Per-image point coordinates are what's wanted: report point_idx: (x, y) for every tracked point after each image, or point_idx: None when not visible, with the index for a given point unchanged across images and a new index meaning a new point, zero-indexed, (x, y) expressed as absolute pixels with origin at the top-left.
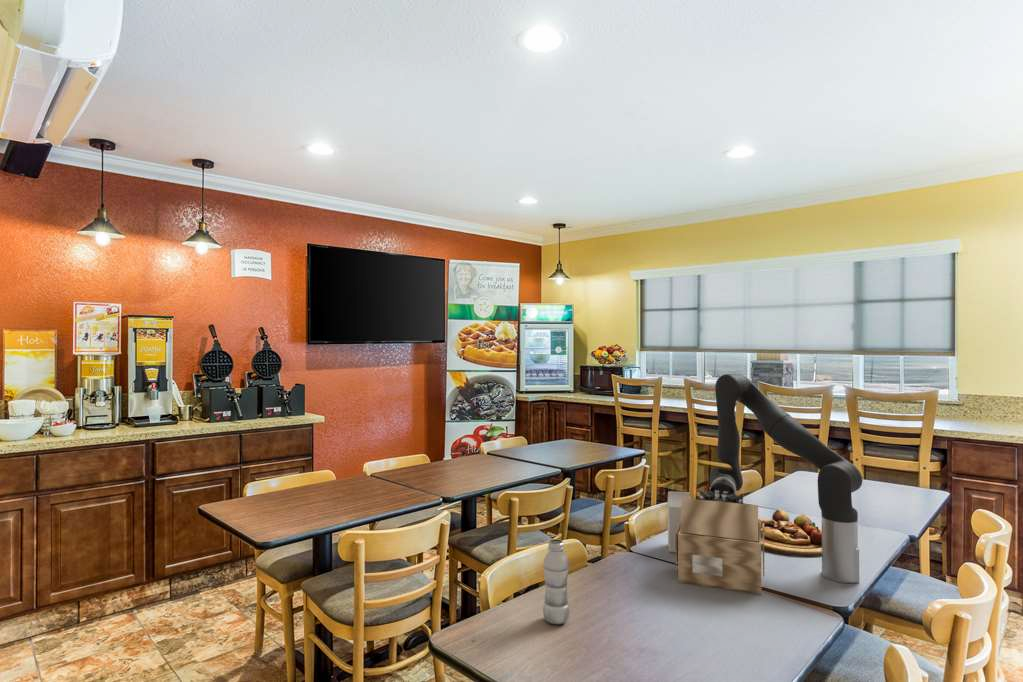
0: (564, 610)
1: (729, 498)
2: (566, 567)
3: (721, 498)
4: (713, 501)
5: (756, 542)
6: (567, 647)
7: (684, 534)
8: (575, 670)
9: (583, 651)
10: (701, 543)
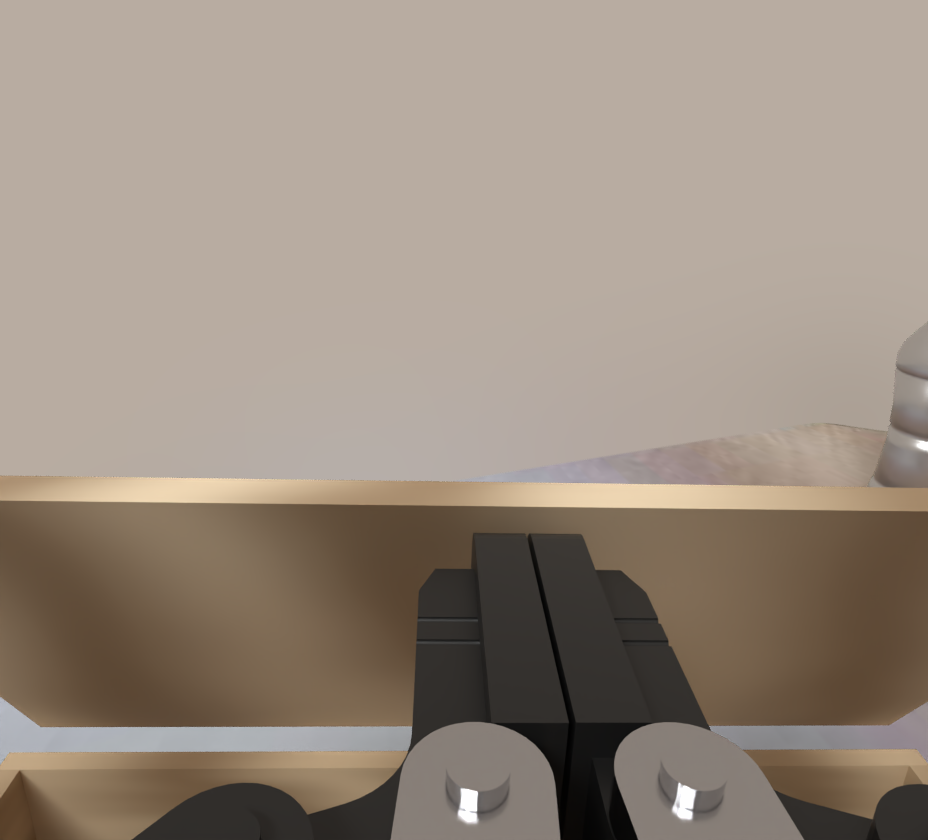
0: (868, 486)
1: (243, 804)
2: (897, 359)
3: (527, 746)
4: (620, 489)
5: (50, 766)
6: (766, 482)
7: (844, 750)
8: (690, 447)
9: (723, 480)
10: None
